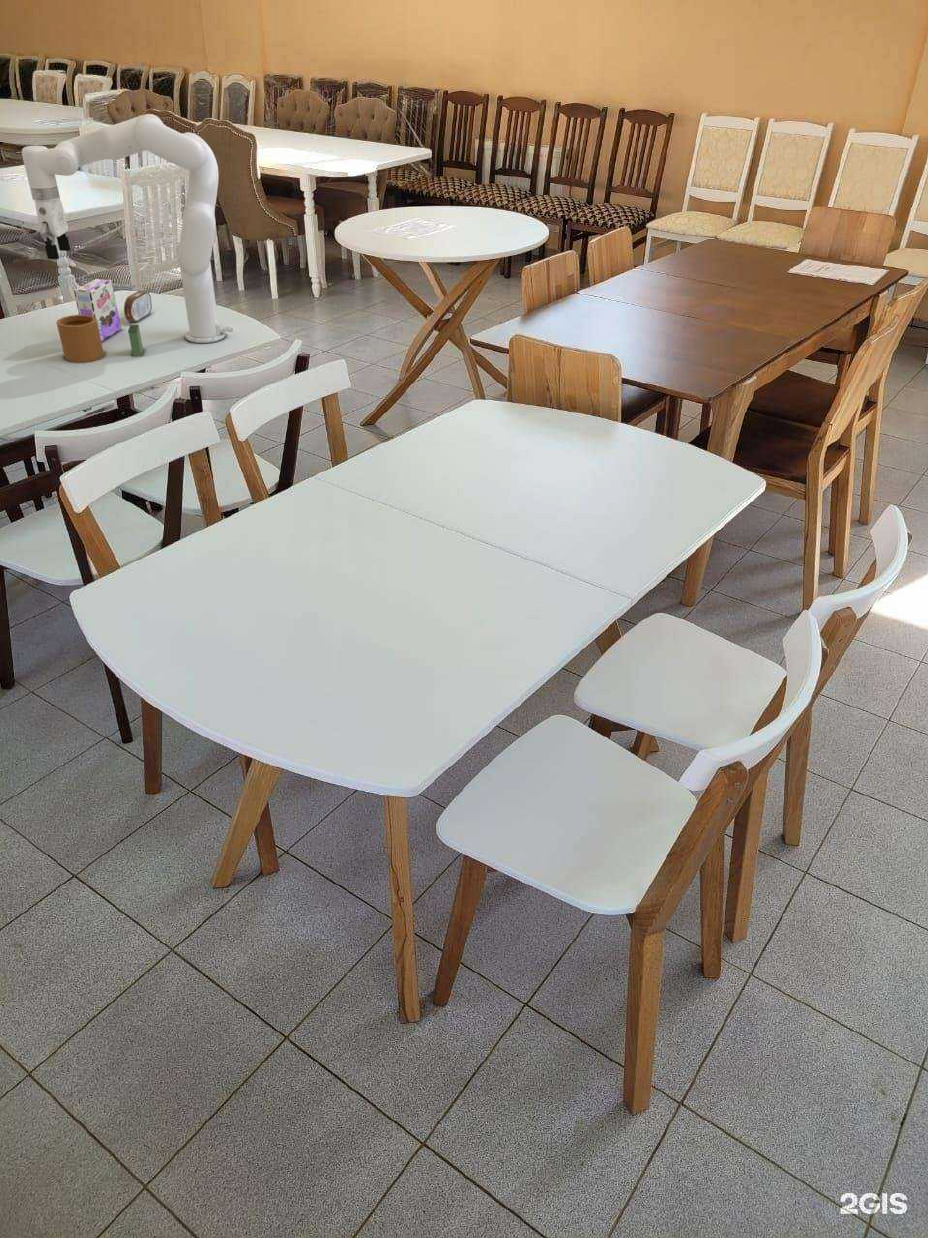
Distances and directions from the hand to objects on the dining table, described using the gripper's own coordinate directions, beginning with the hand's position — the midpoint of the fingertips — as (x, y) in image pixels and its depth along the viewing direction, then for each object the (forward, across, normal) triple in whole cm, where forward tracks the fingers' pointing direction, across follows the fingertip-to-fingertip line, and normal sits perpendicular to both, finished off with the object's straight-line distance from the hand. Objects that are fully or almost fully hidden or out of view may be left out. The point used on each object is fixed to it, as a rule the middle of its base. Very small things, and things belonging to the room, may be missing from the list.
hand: (59, 254), depth 276 cm
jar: (+28, -10, -5) cm, 30 cm away
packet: (+28, -7, -20) cm, 35 cm away
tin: (+28, +27, -12) cm, 41 cm away
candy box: (+28, +9, -4) cm, 30 cm away
